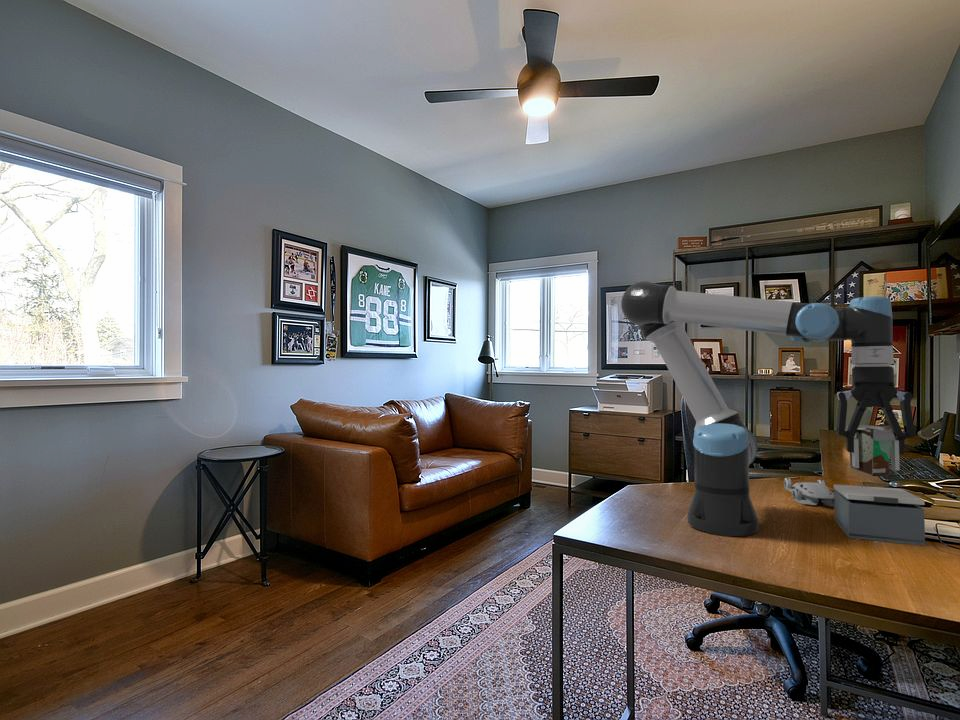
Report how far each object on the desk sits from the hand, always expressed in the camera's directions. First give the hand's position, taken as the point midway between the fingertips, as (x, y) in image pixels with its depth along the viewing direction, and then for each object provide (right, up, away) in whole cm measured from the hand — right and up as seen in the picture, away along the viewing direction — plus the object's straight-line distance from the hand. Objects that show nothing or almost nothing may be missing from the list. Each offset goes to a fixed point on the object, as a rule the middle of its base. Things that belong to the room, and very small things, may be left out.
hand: (875, 467), depth 115 cm
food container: (0, -1, 0) cm, 1 cm away
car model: (+5, -15, +30) cm, 34 cm away
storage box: (0, -14, 0) cm, 14 cm away
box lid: (0, -6, 0) cm, 6 cm away
